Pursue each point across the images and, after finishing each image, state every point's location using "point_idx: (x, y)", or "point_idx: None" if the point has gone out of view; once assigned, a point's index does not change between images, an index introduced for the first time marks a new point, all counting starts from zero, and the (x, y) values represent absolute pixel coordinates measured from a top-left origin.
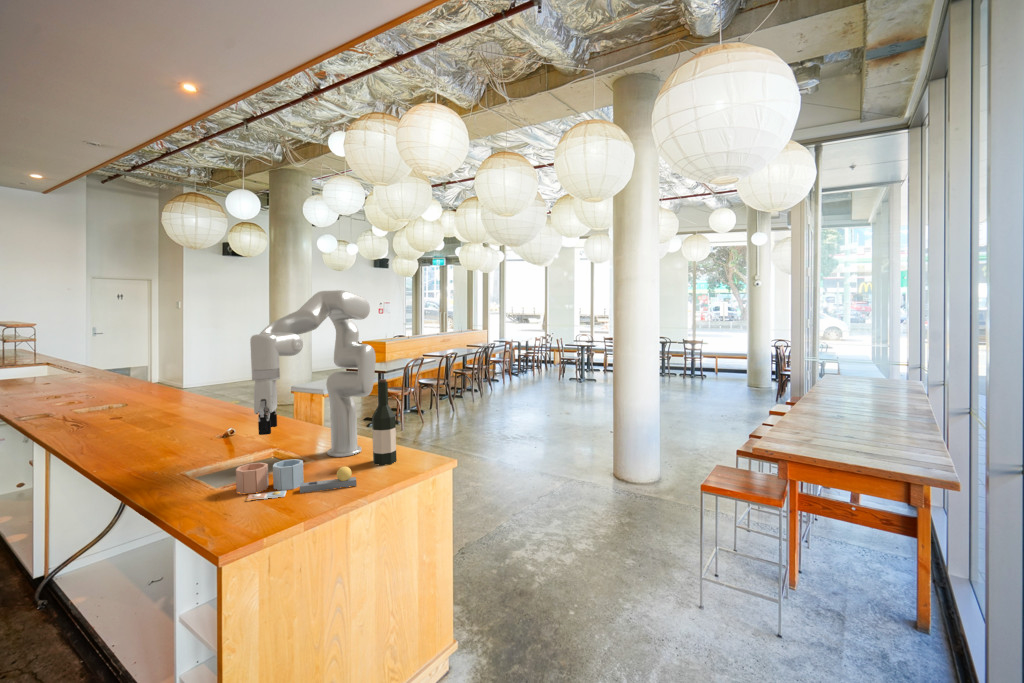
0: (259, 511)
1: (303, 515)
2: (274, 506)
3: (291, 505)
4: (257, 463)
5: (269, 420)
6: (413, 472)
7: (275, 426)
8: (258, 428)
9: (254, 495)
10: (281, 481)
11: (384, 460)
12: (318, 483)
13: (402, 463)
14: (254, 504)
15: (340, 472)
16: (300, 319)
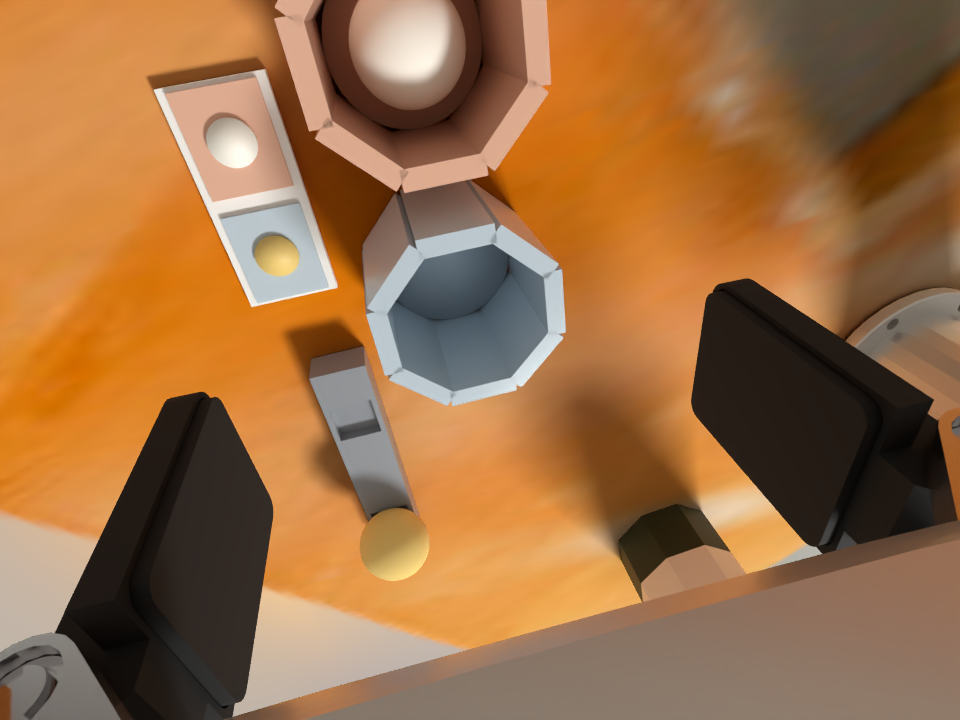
0: (7, 249)
1: (10, 469)
2: (103, 302)
3: (130, 378)
4: (527, 66)
5: (771, 398)
6: (502, 634)
7: (693, 400)
8: (131, 473)
9: (226, 129)
10: (364, 272)
11: (627, 562)
12: (352, 443)
13: (615, 586)
14: (117, 171)
15: (366, 555)
16: None
